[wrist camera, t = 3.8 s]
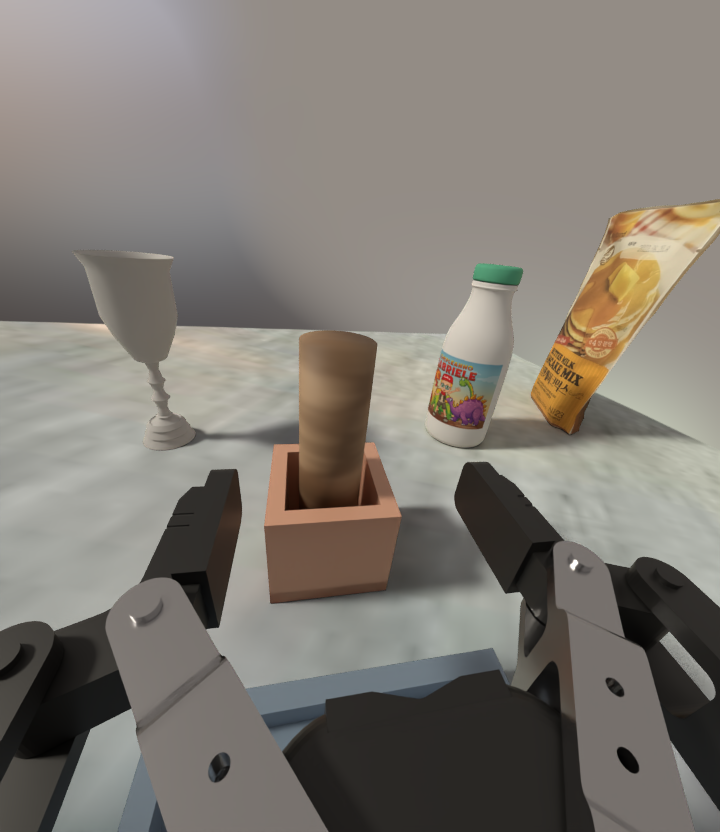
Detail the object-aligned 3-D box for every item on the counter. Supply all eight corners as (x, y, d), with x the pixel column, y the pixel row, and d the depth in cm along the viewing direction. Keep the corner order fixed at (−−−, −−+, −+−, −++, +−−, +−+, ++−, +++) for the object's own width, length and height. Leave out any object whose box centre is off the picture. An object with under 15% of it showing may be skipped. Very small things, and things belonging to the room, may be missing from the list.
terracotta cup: (270, 603, 20) (264, 526, 16) (277, 513, 26) (273, 444, 23) (385, 590, 21) (401, 516, 18) (365, 507, 28) (374, 442, 24)
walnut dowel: (299, 565, 21) (299, 351, 14) (299, 519, 25) (299, 328, 17) (356, 559, 22) (385, 354, 15) (348, 516, 25) (368, 332, 18)
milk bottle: (442, 413, 46) (479, 262, 36) (493, 435, 41) (551, 270, 32) (412, 430, 40) (447, 259, 31) (467, 457, 36) (527, 268, 27)
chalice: (217, 437, 35) (190, 260, 26) (153, 464, 30) (94, 257, 21) (182, 415, 39) (148, 252, 30) (119, 436, 34) (57, 248, 25)
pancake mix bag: (559, 392, 58) (637, 214, 44) (608, 447, 41) (755, 191, 28) (521, 386, 59) (586, 210, 45) (554, 437, 42) (672, 185, 29)
